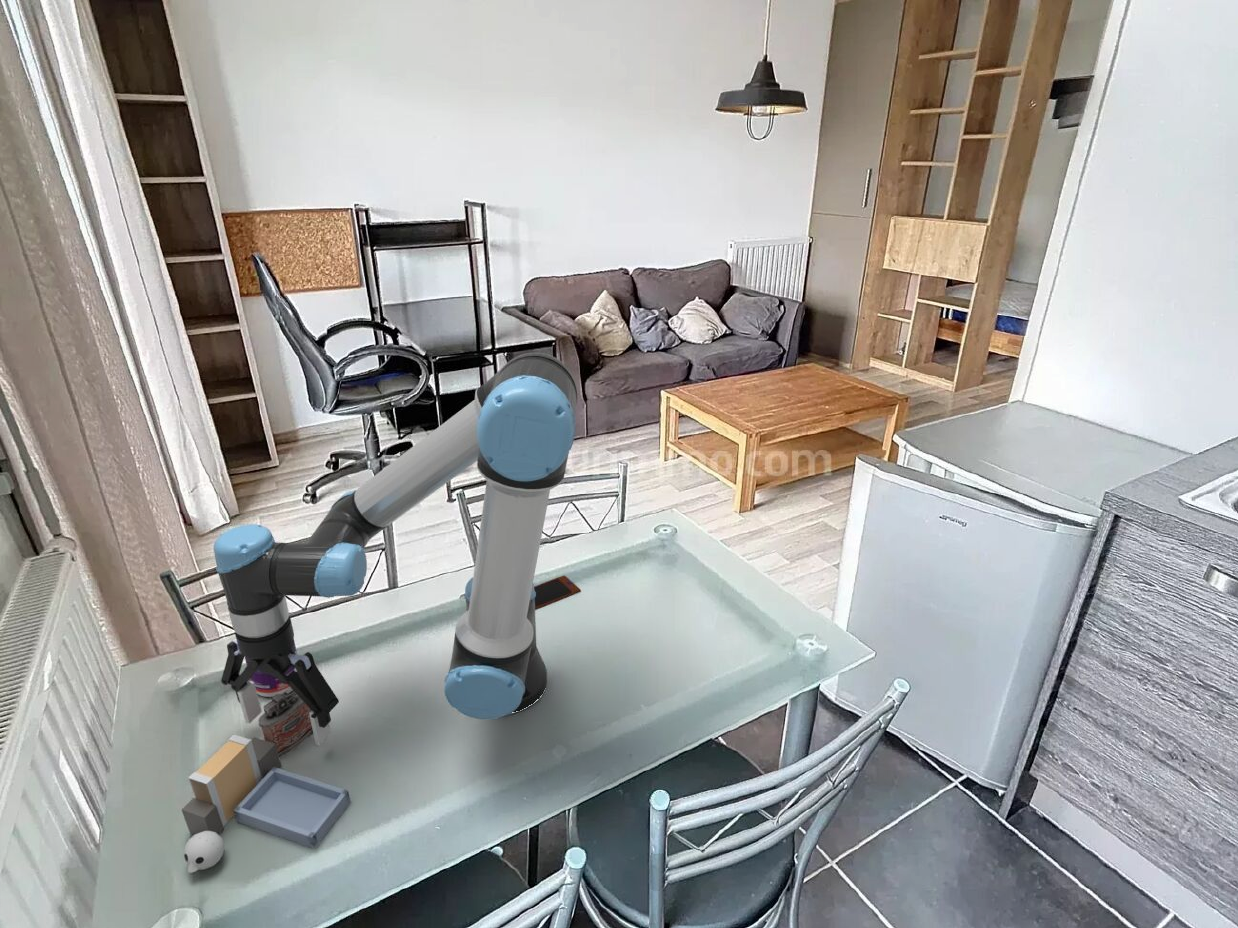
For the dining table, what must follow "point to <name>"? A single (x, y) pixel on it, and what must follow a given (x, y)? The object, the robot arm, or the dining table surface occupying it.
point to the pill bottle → (269, 681)
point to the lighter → (286, 721)
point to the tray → (293, 807)
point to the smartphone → (554, 591)
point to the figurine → (203, 850)
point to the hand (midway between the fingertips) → (288, 727)
